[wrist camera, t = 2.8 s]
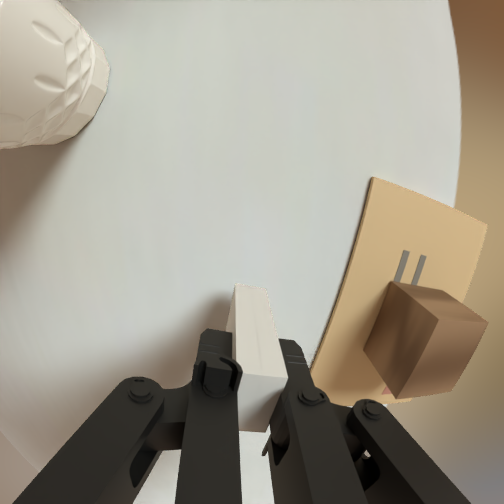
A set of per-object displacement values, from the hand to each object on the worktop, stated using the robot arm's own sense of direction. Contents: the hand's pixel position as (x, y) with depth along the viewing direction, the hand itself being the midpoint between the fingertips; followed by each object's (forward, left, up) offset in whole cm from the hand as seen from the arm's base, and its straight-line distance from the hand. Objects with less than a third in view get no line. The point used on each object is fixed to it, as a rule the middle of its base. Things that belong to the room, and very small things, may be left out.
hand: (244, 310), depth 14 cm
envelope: (0, +11, -2) cm, 11 cm away
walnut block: (0, +11, -1) cm, 11 cm away
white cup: (-10, -13, -2) cm, 17 cm away
